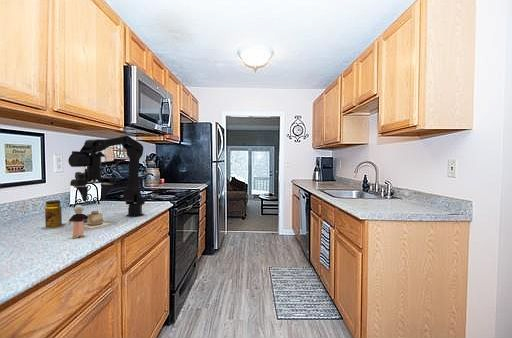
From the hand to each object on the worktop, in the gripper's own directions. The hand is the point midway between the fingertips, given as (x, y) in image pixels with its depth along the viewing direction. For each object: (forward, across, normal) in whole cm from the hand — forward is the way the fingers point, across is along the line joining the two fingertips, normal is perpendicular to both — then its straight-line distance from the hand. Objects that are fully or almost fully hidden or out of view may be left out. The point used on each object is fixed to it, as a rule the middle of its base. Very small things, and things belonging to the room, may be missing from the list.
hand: (94, 200), depth 129 cm
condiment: (+12, +9, -15) cm, 21 cm away
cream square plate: (+12, 0, 0) cm, 12 cm away
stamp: (+12, 0, 0) cm, 12 cm away
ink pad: (+12, -5, -13) cm, 18 cm away
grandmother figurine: (+12, +15, +12) cm, 23 cm away
